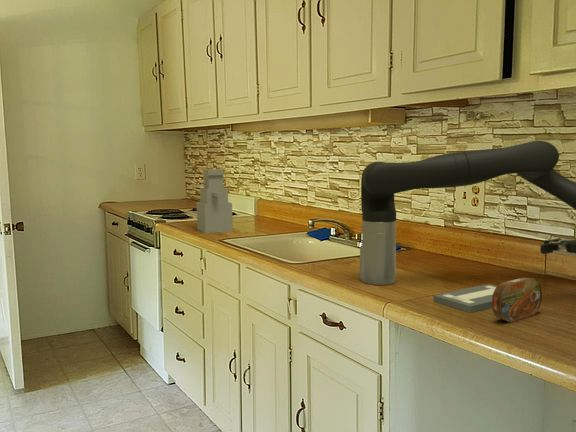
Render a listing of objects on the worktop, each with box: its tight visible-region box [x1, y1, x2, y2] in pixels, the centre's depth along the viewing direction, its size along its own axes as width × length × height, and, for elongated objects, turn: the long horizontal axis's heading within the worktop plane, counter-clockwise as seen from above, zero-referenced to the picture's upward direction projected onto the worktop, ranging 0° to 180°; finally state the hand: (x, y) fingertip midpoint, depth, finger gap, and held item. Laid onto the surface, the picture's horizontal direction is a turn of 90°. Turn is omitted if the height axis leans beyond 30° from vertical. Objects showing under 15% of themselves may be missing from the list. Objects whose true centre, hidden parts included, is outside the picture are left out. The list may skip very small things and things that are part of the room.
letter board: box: [433, 283, 498, 314], centre depth 132 cm, size 11×20×2 cm, turn 121°
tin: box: [492, 277, 543, 323], centre depth 118 cm, size 15×3×8 cm, turn 124°
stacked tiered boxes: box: [196, 168, 234, 234], centre depth 250 cm, size 13×24×28 cm, turn 26°
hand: (559, 252), depth 125 cm, fingers open, 8 cm apart
